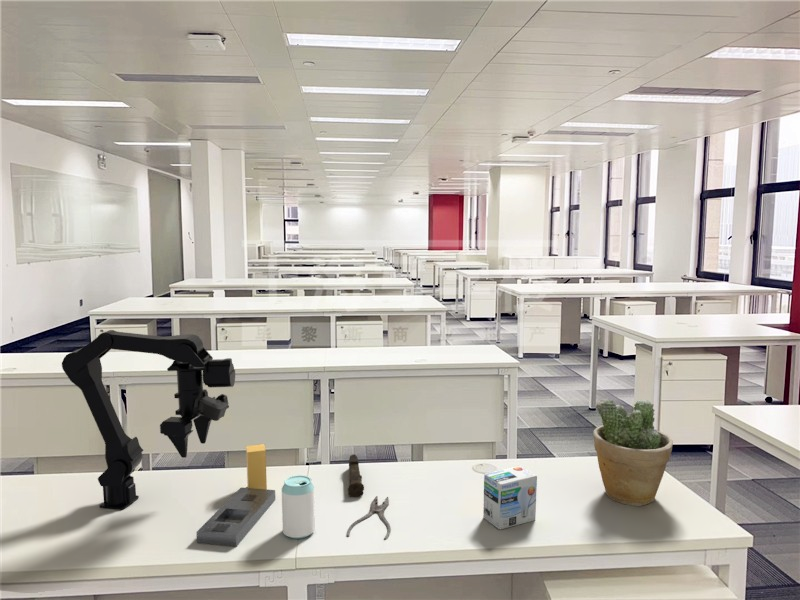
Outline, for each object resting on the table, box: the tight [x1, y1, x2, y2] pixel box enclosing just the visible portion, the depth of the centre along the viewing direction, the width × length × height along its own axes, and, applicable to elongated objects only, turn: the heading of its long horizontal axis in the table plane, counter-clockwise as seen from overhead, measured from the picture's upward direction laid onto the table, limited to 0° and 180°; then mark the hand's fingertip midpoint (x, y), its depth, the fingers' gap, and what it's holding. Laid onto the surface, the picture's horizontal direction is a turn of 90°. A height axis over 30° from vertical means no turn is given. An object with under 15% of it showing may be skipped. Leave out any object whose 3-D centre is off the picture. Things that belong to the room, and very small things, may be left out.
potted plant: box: [592, 398, 674, 507], centre depth 147 cm, size 18×19×25 cm
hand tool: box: [347, 454, 365, 498], centre depth 157 cm, size 19×4×5 cm, turn 4°
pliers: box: [346, 495, 392, 541], centre depth 138 cm, size 10×1×20 cm
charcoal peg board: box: [196, 487, 276, 548], centre depth 137 cm, size 9×22×3 cm, turn 170°
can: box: [281, 474, 316, 540], centre depth 131 cm, size 7×7×12 cm
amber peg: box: [245, 443, 268, 490], centre depth 152 cm, size 4×4×11 cm
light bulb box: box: [482, 465, 538, 530], centre depth 137 cm, size 11×7×11 cm, turn 117°
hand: (193, 450), depth 145 cm, fingers open, 9 cm apart
